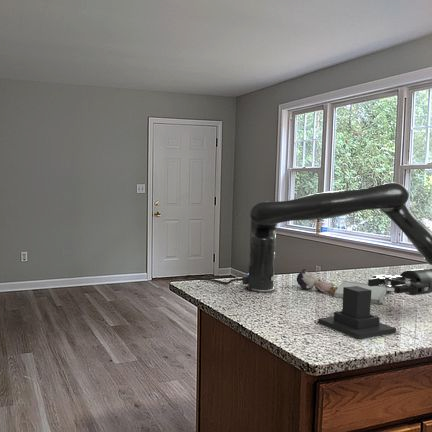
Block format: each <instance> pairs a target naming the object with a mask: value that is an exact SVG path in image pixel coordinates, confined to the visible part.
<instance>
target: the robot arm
mask: <svg viewBox="0 0 432 432" xmlns="http://www.w3.org/2000/svg"><path fill="white" fill-rule="evenodd" d="M409 197H410V192H409V190H408V188H407V187H406V186H405V185H403V184H402V183H399V182H386V183H381V184H378V185H374V186H369V187H365V188H359V189H344V190H335V191H325V192H319V193H313V194H308V195H304V196H300V197H296V198H294V199H289V200H279V201H277V200H276V201H269V200H259V201H257V202H256V203H255V204H253V205H252V207H251V209H250V210H249V211H250V212H249V217H250V230H249V231H250V232H249V248H248V266H247V267H248V268H247V269H248V271H247V274H246V273H245V274H242V277H241V278H233V279H229V280H227V281H222V280H219V279H216V278H215V279H214V278H206V277H199V276H195V275H193V274H187V275H185V276H184V277H183V279H187V278H193V279H196V280H199V281H209V282H215V283H218V284H223V285H229V284H231V283H232V282H239V281H242V285H247V290H248V291H253V292H258V293H259V292H260V293H269V292H273V291H274V289H275V288H274V286H275V285H274V282H275V281H274V280H276V279H275V278H276V275H275V260H276V240H277V239H276V237H277V224H281V223H285V222H293V221H315V220H327V219H333V218H339V217H343V216H347V215H350V214H354V213H358V212H362V211H367V210H368V211H369V210H380V211H381V212H382V213H383V214H385V215H386V216H387V217H388V218H389V219H390V220H391V221H393V223H394V224H395V225H396V226H397V227H398V228H399V229H400V230H401V232H402V233H403V234H404V236H405V237H406V238H407V239H408V240H409V241H410V243H411V244H412V245H413V247H415V249H416V250H417V252H418V254H419V255H420V256H421V257H422V258H423V259H424V261H425V262H426V263H427V264H428V265H429V266H432V230H430V228H429V227H427V226H426V225H425V224H424V223H423V222H421V220H419V219H418V218H417V217H416V215H415V214H414V213H413V212H412V210H411V209H410V208H409V206H408V204H407V202H408V201H409ZM389 282H390V283H389ZM367 283H368V286H385V287H386V288H392V289H393V293H394V294H406V295H407V296H420V295H428V294H432V268H418V269H408V270H404V271H402V272H401V273H400V274H399V275H395V276H392V275H389V274H376V275H375V274H374V275H372V278H368V280H367Z"/></svg>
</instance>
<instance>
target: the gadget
mask: <svg viewBox="0 0 432 432" xmlns="http://www.w3.org/2000/svg"><path fill="white" fill-rule="evenodd" d="M352 286H359V287H362V288H366V289H369V290H372V291H371V304H376V305H380V304H381V303H382V301H383V300H384V297H385V296H386V293H387V292H390V291H391V292H394V288H386V287H385V286H368V282H361V281H356V280H355V281H354V280H344V279H343V280H342V282H341V283H340V284H339V285H338V286H337V287H338V288H337V290H336V291H335V292H334V293H332V297H335V298H342V299H343V288H344V287H352Z"/></svg>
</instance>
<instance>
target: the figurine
mask: <svg viewBox="0 0 432 432" xmlns="http://www.w3.org/2000/svg"><path fill="white" fill-rule="evenodd" d="M296 282H297V285H299V287H300V288H301V289H303V290H311V289H313V288H314V289H315V290H316V291H320V292H322V293H324V294H325V295H326V294H334V292H335V291H336V290H337V288H338V287H339V286H337V285H336V286H335V283H334V282H333V283H332V282H329V281H323V279H322V278H318V275H316V273H313V272H310V271H308V270H307V268H303V269H302V270H301V272H299V273H298V274H297V276H296Z"/></svg>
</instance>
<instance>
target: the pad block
mask: <svg viewBox="0 0 432 432" xmlns="http://www.w3.org/2000/svg"><path fill="white" fill-rule="evenodd" d="M371 291H372V290H369V289H366V288H362V287H359V286H352V287H344V288H343V298H342V307H341V309H342V310H341V311H342V314H344V315H347V316H350V317H352V318H355V319H365V318H370V314H371V304H372V303H371Z"/></svg>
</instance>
